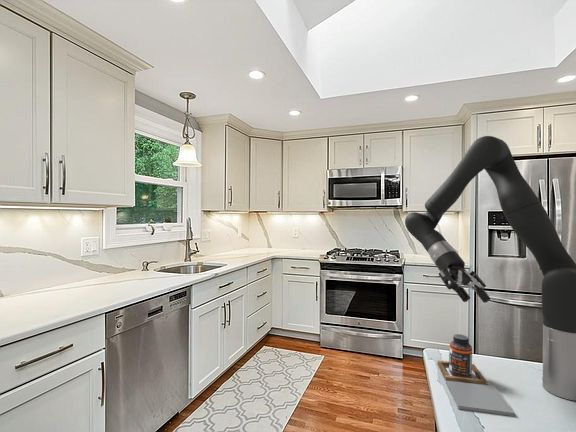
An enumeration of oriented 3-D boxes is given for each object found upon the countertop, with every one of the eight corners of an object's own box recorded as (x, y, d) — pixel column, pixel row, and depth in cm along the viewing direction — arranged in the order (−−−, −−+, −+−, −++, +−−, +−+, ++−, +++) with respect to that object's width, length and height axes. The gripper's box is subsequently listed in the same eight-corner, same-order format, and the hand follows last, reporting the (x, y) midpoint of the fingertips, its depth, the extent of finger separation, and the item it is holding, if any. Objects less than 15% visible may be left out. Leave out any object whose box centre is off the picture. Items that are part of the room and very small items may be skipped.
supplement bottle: (448, 376, 93) (449, 338, 93) (449, 367, 98) (449, 331, 98) (472, 381, 90) (472, 341, 90) (471, 372, 95) (471, 334, 95)
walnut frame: (473, 368, 98) (473, 364, 98) (486, 385, 88) (486, 381, 88) (437, 364, 101) (437, 360, 101) (445, 381, 90) (445, 376, 90)
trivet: (493, 388, 86) (493, 385, 86) (514, 416, 75) (514, 412, 75) (445, 383, 89) (445, 380, 89) (458, 408, 77) (458, 405, 77)
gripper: (436, 248, 98) (469, 292, 86) (468, 252, 103) (503, 293, 92) (422, 264, 102) (451, 307, 91) (453, 266, 108) (485, 308, 96)
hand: (477, 300), depth 91 cm, fingers open, 8 cm apart
